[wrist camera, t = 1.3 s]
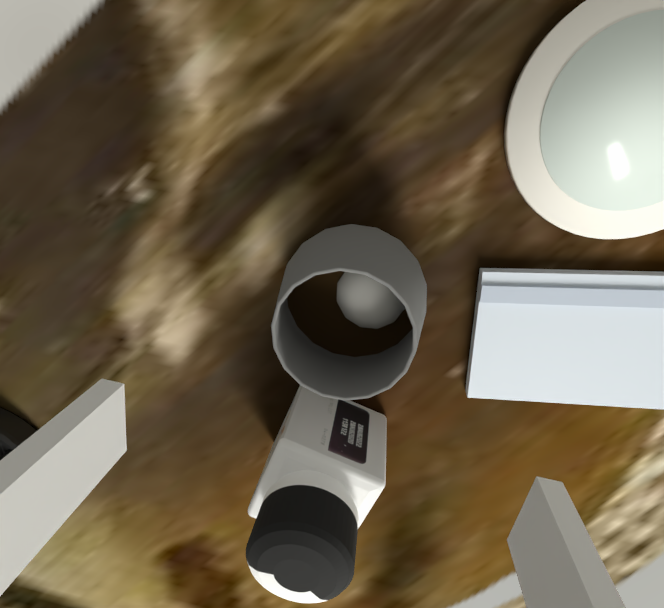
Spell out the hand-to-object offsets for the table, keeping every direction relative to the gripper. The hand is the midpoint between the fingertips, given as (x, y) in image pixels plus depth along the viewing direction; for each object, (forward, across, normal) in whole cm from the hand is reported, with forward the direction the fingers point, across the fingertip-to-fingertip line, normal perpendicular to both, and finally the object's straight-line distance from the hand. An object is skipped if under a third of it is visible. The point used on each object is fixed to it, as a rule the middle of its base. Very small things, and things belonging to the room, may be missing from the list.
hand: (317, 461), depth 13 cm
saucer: (+19, +14, +13) cm, 27 cm away
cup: (+19, 0, 0) cm, 19 cm away
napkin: (+19, +17, -1) cm, 25 cm away
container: (+19, 0, -14) cm, 23 cm away
